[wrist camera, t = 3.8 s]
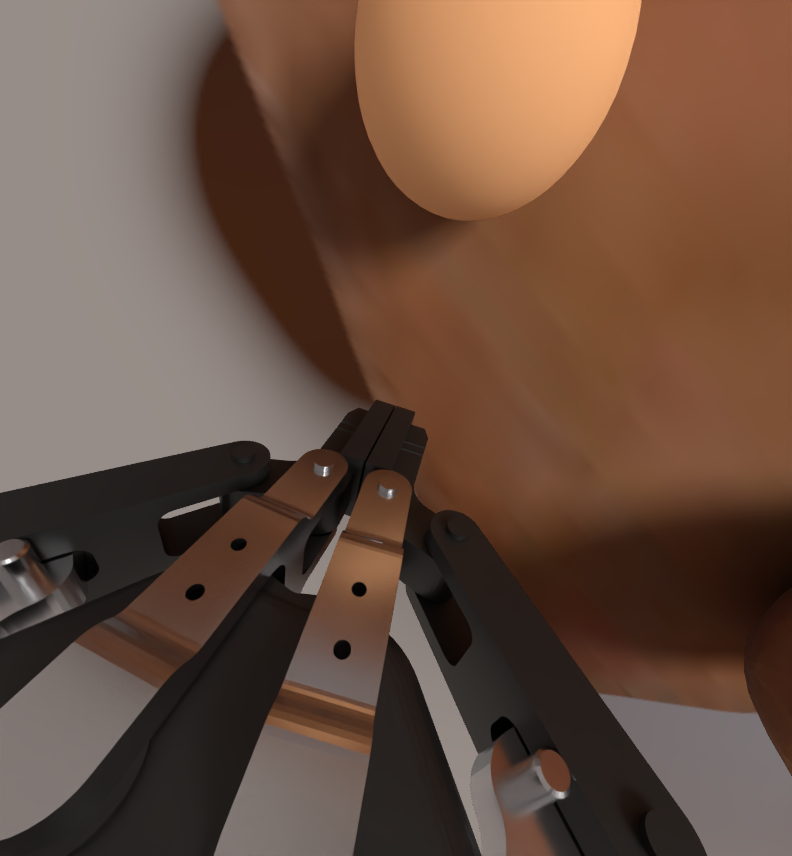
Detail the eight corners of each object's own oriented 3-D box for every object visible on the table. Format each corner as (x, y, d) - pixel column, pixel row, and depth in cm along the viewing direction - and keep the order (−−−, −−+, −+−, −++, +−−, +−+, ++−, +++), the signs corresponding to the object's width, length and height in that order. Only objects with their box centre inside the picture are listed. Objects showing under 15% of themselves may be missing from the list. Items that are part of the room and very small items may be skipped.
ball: (417, -71, 9) (320, -436, 4) (646, -28, 8) (866, -388, 3) (377, 197, 12) (296, 181, 7) (539, 240, 12) (571, 255, 7)
